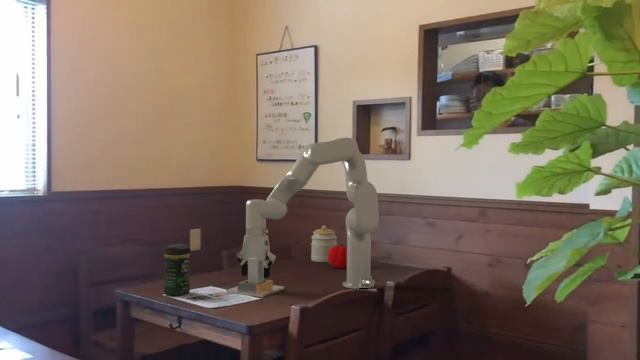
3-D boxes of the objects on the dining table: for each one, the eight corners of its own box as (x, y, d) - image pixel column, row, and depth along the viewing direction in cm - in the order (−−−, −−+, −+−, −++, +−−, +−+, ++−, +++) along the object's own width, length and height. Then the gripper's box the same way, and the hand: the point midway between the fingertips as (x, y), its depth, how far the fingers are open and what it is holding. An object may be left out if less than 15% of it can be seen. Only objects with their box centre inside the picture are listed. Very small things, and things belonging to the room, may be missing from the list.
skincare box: (254, 286, 238) (254, 255, 237) (264, 287, 236) (264, 256, 236) (247, 289, 232) (247, 257, 231) (257, 290, 231) (258, 258, 230)
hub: (283, 289, 238) (284, 280, 238) (262, 297, 223) (262, 287, 223) (248, 285, 245) (249, 276, 245) (226, 292, 230) (226, 283, 230)
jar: (308, 262, 301) (309, 226, 301) (313, 257, 314) (313, 223, 314) (334, 263, 299) (335, 227, 299) (338, 258, 312) (338, 224, 312)
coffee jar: (178, 297, 222) (178, 246, 221) (160, 295, 225) (160, 245, 224) (193, 292, 231) (193, 243, 230) (176, 290, 234) (176, 241, 233)
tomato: (331, 270, 280) (331, 245, 279) (325, 265, 291) (325, 242, 290) (356, 269, 282) (356, 245, 282) (349, 265, 294) (349, 242, 293)
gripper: (280, 232, 233) (280, 276, 234) (242, 229, 241) (241, 272, 241) (270, 234, 226) (270, 280, 227) (231, 231, 234) (231, 276, 234)
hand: (255, 276), depth 234 cm, fingers open, 9 cm apart
